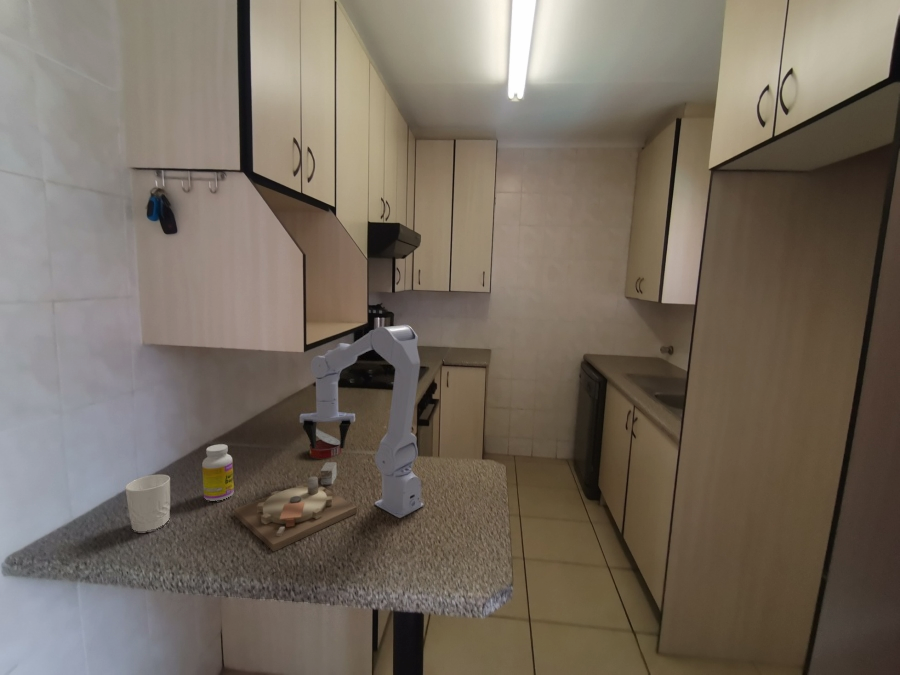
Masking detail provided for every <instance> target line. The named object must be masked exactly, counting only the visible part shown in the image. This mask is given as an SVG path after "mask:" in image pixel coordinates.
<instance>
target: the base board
mask: <svg viewBox="0 0 900 675" xmlns="http://www.w3.org/2000/svg"><path fill="white" fill-rule="evenodd" d="M301 485H304V487H308V481H307V482H304V483H301ZM296 487H297V485H296V486H294V487H292V488H296ZM319 487H323V485H321V484H320V483H318V488H319ZM326 495H327V496H332V505H330V506H326V508H325V509H324V510H323V511H322V516H321V517H320V518H318V519H315V518H311V519H308V520H305V521H302V522H297V523H295V525H294V526H290V527H286V524H278V523H273V522H270V523H268V524H264V523H262V522H261V516H262V515H263V512H258V513H257V505H258V503H262V502H265V501H266V500H267V499H268V498H269V497H271V495H269V496H265V497H263V498H260V499H257V500H255V501H252V502H250V503H249V502H248V503H247V504H245V505H241V506H239V507H235V508H233V516H234V517H235V518H236V519H237V520H239V521H240V522H241V523H242V524H243V525H244V526H245V527H246V528H247V529H248V530H250V531H251V532H252V534H254V535H255V536H256V537H257V538H258V539H260V540H261V542H263V543H264V545H265V546H267V547H268V548H269V549H270V550H271V551H272V552H277V551H278V550H281V549H283V548H284V547H287V546H289V545H291V544H293V543H296V542H298V541H300V540H302V539H304V538H306V537H308V536H310V535H312V534H315V533H316V532H318V531H321V530H323V529H325V528H328V527H330V526H332V525H334V524H337V523H338V522H340V521H343V520H345V519H347V518H348V517H349V518H350V517H351V516H353V515H355V514H357V513H358V507H357V506H356V505H355V504H354V503H352V502H350V501H348V500H346V499H344V498H343V497H341V496H340V495H338V494H336V493H334V492H332V491H331V490H329V489H327V488H326Z"/></svg>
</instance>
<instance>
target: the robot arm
mask: <svg viewBox="0 0 900 675" xmlns="http://www.w3.org/2000/svg"><path fill="white" fill-rule="evenodd" d="M418 343H419V336H418V334H417V333H416V331H414V329H413V328H412V327H411V326H410V325H409V324H401V325H394V326H393V325H392V326H378V327H376V328H375V329H372V330H368V333H366V334H365V335H363V336H362V337H360V338H359V339H357V340H356V341H354V342H353V343H351V344H350V343H344V342H341V343H340V342H339V343H337V344H336V347H335V348H334V349H332V350H327V351H326V352H325V354H324V355H315V356H314V357H313V358H312V360H311V361H310V371H311V373H312V375H313V376H314V377H315V395H316V396H315V398H316V399H315V401H316V407H315V409H316V412H311V413H301V414H300V415H299V423H300V424H301V423H302V424H303V425H302V428H303V430H304V432H305V433H306V435H307V438H308V439H309V442H310V444H311V446H312V449H315V447H316V443H317V442H316V441H317V436H316V428H317V423H320V422H321V423H323V422H324V423H331V422H332V423H333V422H335V423H336V422H337V423H338V422H339V423H340V424H339V425H338V426H339V436H340V438H339V439H340V440H339V441H340V448H341V449H344V447H345V444H346V443H345V442H346V438H347V434H348V431H349V429H350V426H351V424H352V423H355V421H356V413H349V412H341V411H339V381H340V379H341V378H340V374H341V372H342V371H343V370H344V369H346V368H348V367H350V366H352V365H353V364H355V363H356V362H357V361H358V357H359V356H361V355H363V354H365V353H366V352H369V351H372V350H374V351H375V352H376V353H377V354H378V355H380V357H382V359H384V360H385V361H386V362H387V363H389V364H390V365H392V367H393V368H394V370H395V371H394V379H393V387H392V395H391V404H390V411H389V420H388V425H387V427H388V428H387V431H386V434H384V436H383V437H382V439H381V440H380V441H379V446H378V450H377V451H376V452H375V455H374V462H375V466H376V468H377V469H378V471H379V473H380V474H381V490H382V491H381V493H382V495H381V496H382V497H381V499H379V500H377V501H374V505H375V506H377V507H378V508H380V509H382V510H384V511H386V512H387V513H389V514H390V515H393V516H395V517H396V518H399V519H402V518H403V517H405V516H407V515H409V514H411V513H413V512H415V511H416V510H418V509H420V508H422V507H424V503H423V502H422V481H421V479H420V477H418V476H417V475H415V473H414V472H413V467H414V462H415V461H416V460H417V458H418V456H419V452H418V451H419V450H418V446H417V441H418V439H417V436H416V435H415V434H414V433H413V432H412V426H413V419H414V411H415V405H416V398H417V397H416V396H417V389H418V383H419V376H420V369H421V359H420V355H419V350H418Z"/></svg>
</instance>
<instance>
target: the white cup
mask: <svg viewBox="0 0 900 675" xmlns="http://www.w3.org/2000/svg"><path fill="white" fill-rule="evenodd" d="M124 489H125V494H126V501H127V509H128V514H129V515H128V516H129V519H130V526H131V530H132V529H133V530H136V531H147V530H151V529H156V528H158V527H160V526H162V525H164V524H165V523H166V522H167V521H168V520H169V518H170V517H171V514H170V510H171V477H170V476H169V475H167V474H151V475H146V476H142V477H139V478H137V479H134V480H132V481H130V482H128V483H127V484H126V485H125V488H124ZM170 519H171V518H170ZM169 521H170V520H169ZM133 530H132V531H133Z"/></svg>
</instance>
